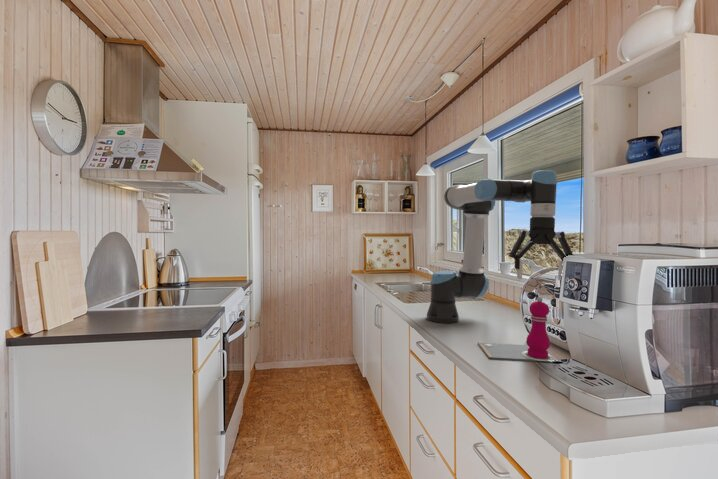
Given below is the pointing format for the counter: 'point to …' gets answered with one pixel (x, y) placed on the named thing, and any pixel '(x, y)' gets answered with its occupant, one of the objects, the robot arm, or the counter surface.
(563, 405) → the counter surface
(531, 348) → the pepper mill
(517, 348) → the slate
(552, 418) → the counter surface
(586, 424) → the counter surface
